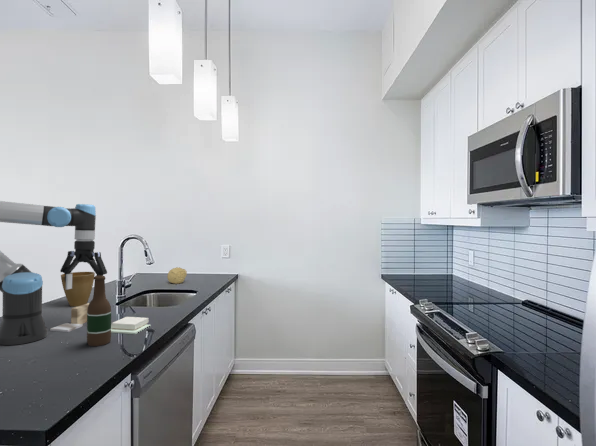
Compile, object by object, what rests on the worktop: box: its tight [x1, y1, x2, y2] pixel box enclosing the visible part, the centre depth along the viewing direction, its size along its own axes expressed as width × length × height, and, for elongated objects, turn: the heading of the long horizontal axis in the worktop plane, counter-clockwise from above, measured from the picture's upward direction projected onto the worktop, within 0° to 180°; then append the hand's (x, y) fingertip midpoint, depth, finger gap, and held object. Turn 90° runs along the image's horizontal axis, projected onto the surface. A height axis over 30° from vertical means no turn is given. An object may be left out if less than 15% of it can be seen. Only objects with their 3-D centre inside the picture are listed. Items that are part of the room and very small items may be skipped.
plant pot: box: [60, 271, 96, 308], centre depth 188 cm, size 15×15×16 cm
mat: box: [111, 323, 152, 335], centre depth 150 cm, size 11×14×1 cm
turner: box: [49, 302, 90, 333], centre depth 155 cm, size 20×8×7 cm, turn 172°
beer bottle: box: [86, 275, 112, 347], centre depth 133 cm, size 8×8×24 cm
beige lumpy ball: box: [167, 266, 188, 285], centre depth 256 cm, size 12×12×11 cm
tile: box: [111, 316, 149, 330], centre depth 152 cm, size 2×10×10 cm
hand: (83, 290), depth 158 cm, fingers open, 13 cm apart
